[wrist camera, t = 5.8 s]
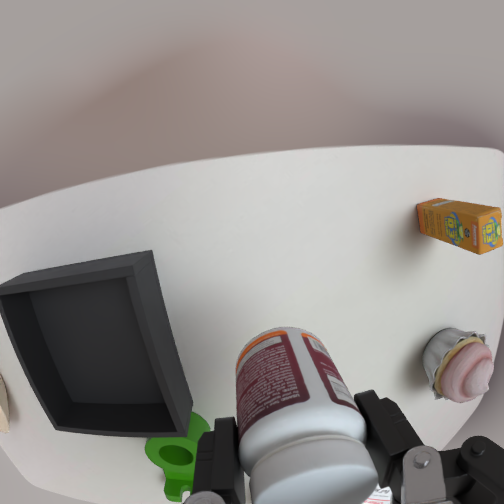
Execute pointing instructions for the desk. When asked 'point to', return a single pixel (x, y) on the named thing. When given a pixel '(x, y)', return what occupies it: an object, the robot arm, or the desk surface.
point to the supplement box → (462, 224)
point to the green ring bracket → (177, 457)
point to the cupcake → (458, 365)
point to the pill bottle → (299, 424)
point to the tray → (99, 347)
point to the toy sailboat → (3, 408)
